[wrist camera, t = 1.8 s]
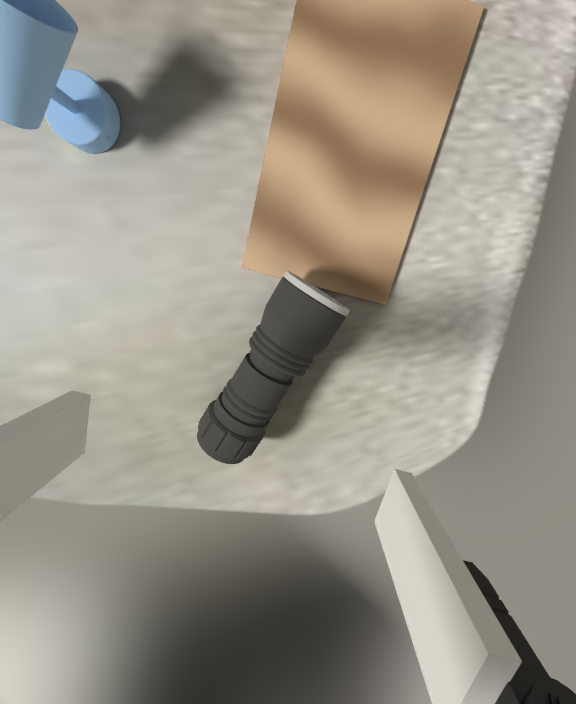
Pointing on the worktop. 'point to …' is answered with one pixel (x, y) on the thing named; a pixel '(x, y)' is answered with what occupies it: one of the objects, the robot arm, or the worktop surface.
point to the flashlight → (269, 367)
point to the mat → (356, 138)
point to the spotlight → (50, 78)
